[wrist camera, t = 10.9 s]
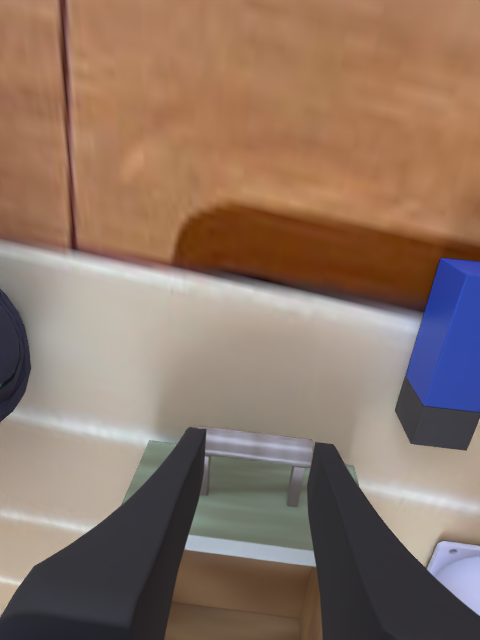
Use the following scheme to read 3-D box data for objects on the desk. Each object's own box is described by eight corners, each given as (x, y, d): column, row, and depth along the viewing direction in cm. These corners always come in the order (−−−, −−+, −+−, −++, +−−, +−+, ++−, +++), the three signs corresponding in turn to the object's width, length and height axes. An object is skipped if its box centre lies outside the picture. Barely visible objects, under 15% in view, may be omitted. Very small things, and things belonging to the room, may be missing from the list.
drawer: (148, 383, 23) (107, 458, 17) (368, 409, 23) (400, 494, 17) (151, 590, 31) (124, 687, 25) (314, 612, 30) (324, 717, 25)
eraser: (440, 257, 20) (467, 274, 17) (499, 263, 20) (536, 281, 17) (394, 410, 24) (410, 444, 21) (444, 416, 23) (466, 451, 21)
